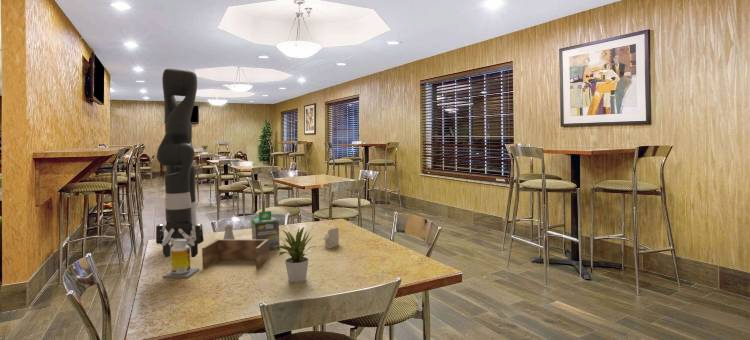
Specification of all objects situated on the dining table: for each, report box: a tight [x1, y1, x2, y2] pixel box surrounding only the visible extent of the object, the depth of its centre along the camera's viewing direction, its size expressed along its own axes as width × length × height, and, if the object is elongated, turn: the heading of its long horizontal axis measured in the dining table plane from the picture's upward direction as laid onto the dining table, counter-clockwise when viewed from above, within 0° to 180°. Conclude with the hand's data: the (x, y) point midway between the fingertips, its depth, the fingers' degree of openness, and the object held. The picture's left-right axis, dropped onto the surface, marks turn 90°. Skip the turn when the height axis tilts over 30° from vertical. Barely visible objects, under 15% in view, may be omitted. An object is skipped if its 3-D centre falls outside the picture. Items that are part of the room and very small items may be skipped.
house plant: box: [274, 226, 317, 283], centre depth 133 cm, size 14×14×16 cm
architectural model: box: [322, 226, 341, 249], centre depth 173 cm, size 3×7×7 cm, turn 142°
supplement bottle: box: [170, 239, 191, 274], centre depth 138 cm, size 6×6×10 cm
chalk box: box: [250, 210, 281, 252], centre depth 169 cm, size 9×9×15 cm
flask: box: [222, 224, 236, 240], centre depth 166 cm, size 7×7×10 cm
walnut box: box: [201, 239, 270, 270], centre depth 150 cm, size 19×12×7 cm, turn 88°
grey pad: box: [162, 267, 200, 279], centre depth 139 cm, size 8×8×1 cm
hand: (180, 256), depth 138 cm, fingers open, 8 cm apart
